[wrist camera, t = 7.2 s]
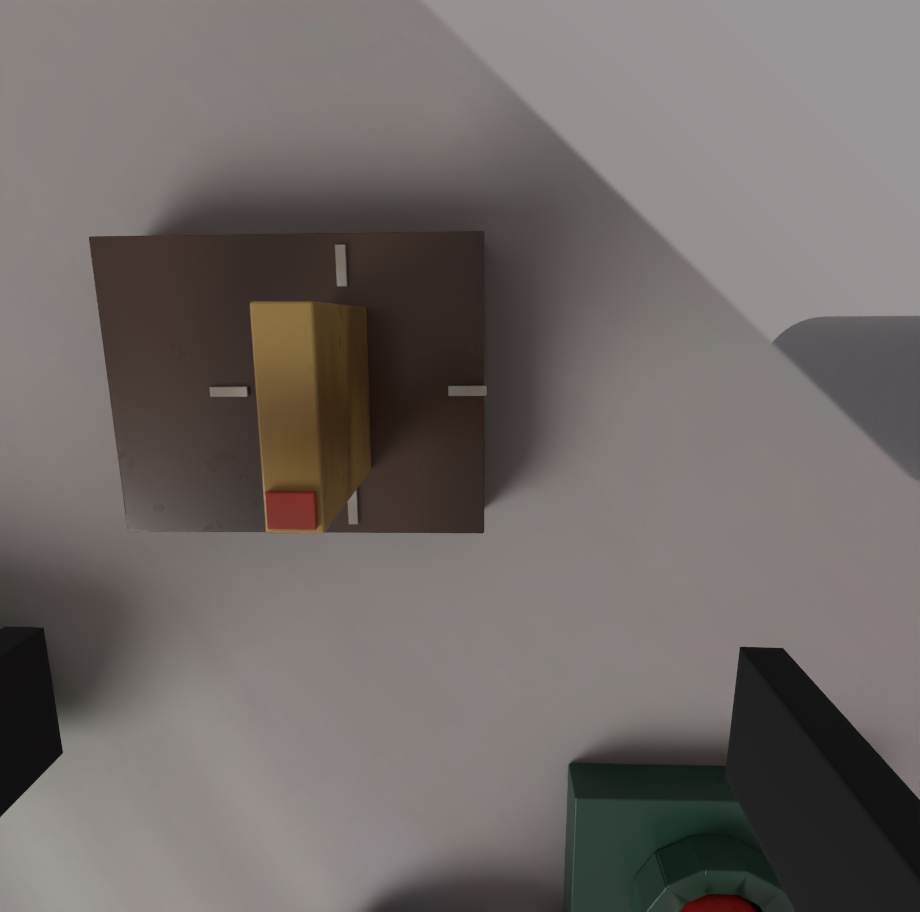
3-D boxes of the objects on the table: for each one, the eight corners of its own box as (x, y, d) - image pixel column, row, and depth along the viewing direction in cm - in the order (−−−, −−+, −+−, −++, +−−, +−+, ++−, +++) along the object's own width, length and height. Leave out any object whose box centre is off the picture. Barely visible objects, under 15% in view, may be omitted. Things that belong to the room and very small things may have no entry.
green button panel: (827, 768, 28) (882, 839, 25) (803, 940, 31) (849, 1031, 27) (568, 762, 29) (581, 831, 25) (562, 932, 31) (573, 1020, 27)
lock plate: (486, 241, 24) (487, 230, 21) (486, 509, 26) (486, 534, 23) (135, 246, 25) (85, 235, 21) (166, 508, 27) (125, 532, 24)
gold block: (322, 306, 22) (244, 300, 15) (366, 306, 22) (309, 300, 15) (329, 470, 23) (261, 536, 16) (371, 470, 23) (322, 537, 16)
